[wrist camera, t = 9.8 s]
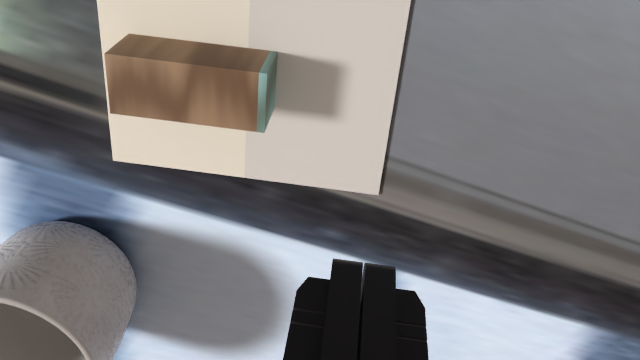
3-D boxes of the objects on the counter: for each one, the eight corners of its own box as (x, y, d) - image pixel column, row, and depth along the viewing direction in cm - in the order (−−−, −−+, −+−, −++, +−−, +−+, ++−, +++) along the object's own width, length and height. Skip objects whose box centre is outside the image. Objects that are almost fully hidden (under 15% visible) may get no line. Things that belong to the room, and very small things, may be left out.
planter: (179, 292, 52) (133, 395, 43) (74, 335, 56) (11, 438, 47) (85, 181, 47) (9, 271, 38) (-23, 237, 51) (-115, 331, 42)
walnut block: (277, 51, 40) (128, 33, 40) (267, 73, 36) (104, 53, 37) (274, 107, 42) (132, 89, 42) (264, 133, 38) (110, 113, 39)
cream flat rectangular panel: (91, -67, 37) (90, -66, 37) (415, -29, 36) (415, -29, 36) (114, 159, 46) (113, 160, 45) (378, 193, 45) (378, 195, 45)
